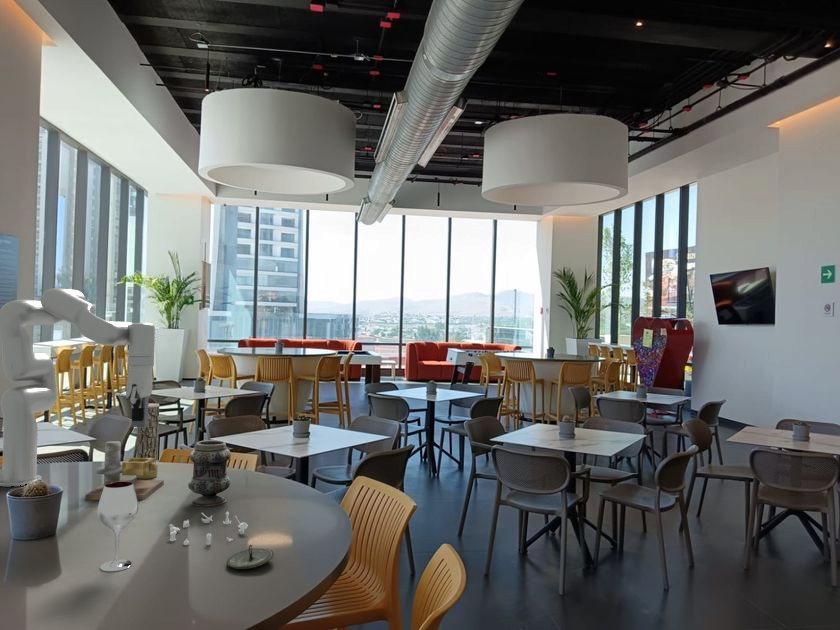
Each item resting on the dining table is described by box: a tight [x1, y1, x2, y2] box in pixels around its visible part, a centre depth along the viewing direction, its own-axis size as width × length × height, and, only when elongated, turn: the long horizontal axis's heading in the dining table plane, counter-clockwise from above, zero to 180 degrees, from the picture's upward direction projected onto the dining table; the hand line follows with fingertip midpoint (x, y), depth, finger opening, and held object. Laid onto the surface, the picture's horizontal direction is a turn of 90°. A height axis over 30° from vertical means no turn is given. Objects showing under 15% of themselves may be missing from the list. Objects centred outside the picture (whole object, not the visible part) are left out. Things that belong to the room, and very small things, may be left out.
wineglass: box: [96, 481, 139, 573], centre depth 140 cm, size 8×8×18 cm
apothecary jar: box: [187, 439, 232, 508], centre depth 191 cm, size 12×12×18 cm
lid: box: [226, 544, 275, 570], centre depth 143 cm, size 11×10×5 cm
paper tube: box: [135, 402, 160, 480], centre depth 219 cm, size 7×7×25 cm
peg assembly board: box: [84, 440, 165, 501], centre depth 200 cm, size 18×18×16 cm
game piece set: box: [168, 510, 249, 546], centre depth 163 cm, size 19×20×4 cm
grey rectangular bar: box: [130, 396, 150, 428], centre depth 200 cm, size 4×3×11 cm
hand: (139, 419), depth 200 cm, fingers closed on grey rectangular bar, 3 cm apart
